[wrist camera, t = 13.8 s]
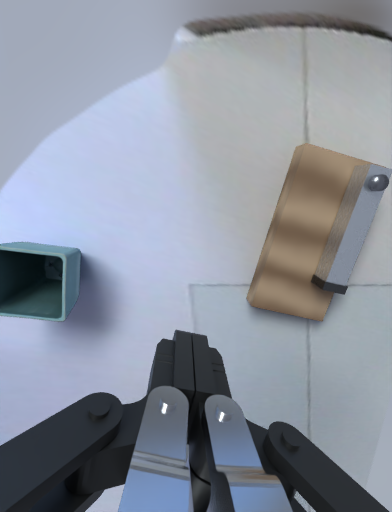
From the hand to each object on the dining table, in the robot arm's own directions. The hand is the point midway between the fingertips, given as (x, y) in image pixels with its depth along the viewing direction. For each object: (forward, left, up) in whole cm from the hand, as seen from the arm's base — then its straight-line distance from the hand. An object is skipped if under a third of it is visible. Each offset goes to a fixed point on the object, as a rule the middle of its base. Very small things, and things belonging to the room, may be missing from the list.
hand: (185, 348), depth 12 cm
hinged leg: (+7, -22, -24) cm, 33 cm away
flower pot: (-8, +17, -27) cm, 33 cm away
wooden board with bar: (+5, -18, -27) cm, 33 cm away
